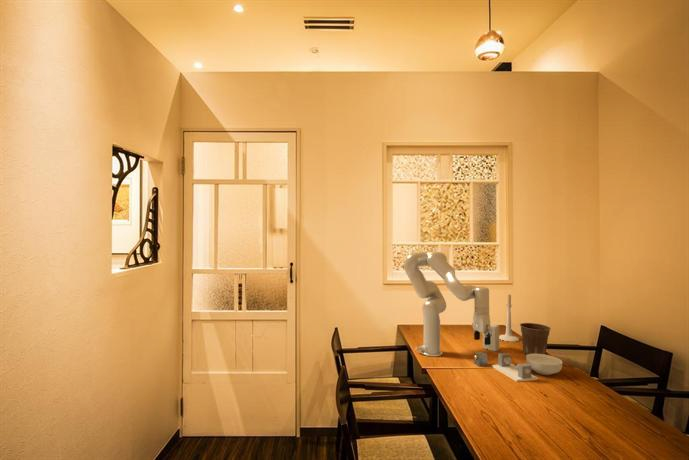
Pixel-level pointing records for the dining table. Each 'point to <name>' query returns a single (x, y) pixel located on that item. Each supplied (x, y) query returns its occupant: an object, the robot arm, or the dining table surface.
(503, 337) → the candlestick
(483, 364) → the joint block
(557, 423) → the dining table surface
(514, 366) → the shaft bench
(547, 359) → the cereal bowl
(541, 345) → the plant pot
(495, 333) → the skincare box
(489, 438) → the dining table surface
